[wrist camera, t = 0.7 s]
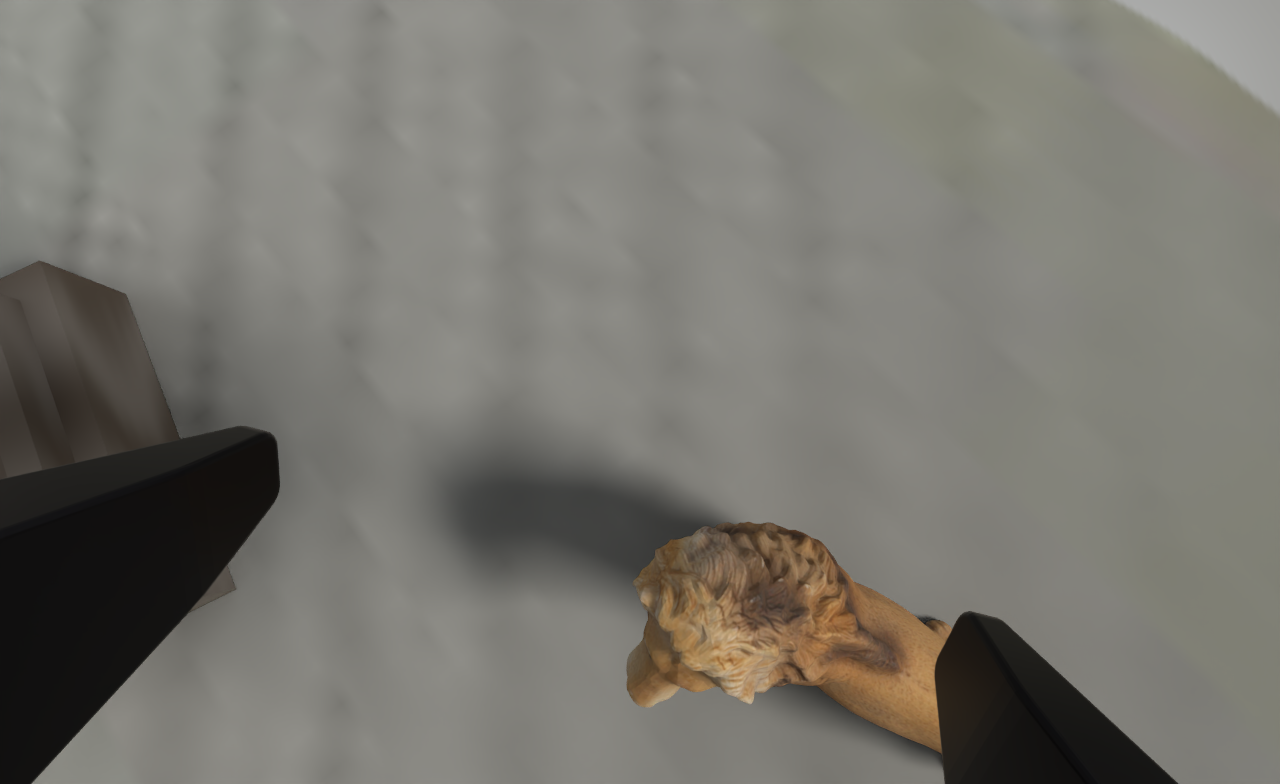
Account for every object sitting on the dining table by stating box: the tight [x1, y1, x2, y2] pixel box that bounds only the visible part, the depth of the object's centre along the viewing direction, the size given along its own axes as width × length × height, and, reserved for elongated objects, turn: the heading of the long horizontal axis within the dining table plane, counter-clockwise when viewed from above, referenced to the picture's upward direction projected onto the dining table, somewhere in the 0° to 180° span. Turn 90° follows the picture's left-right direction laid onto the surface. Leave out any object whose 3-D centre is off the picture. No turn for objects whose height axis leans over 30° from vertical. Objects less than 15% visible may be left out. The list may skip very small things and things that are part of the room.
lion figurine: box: [627, 522, 952, 754], centre depth 18 cm, size 15×5×9 cm, turn 68°
